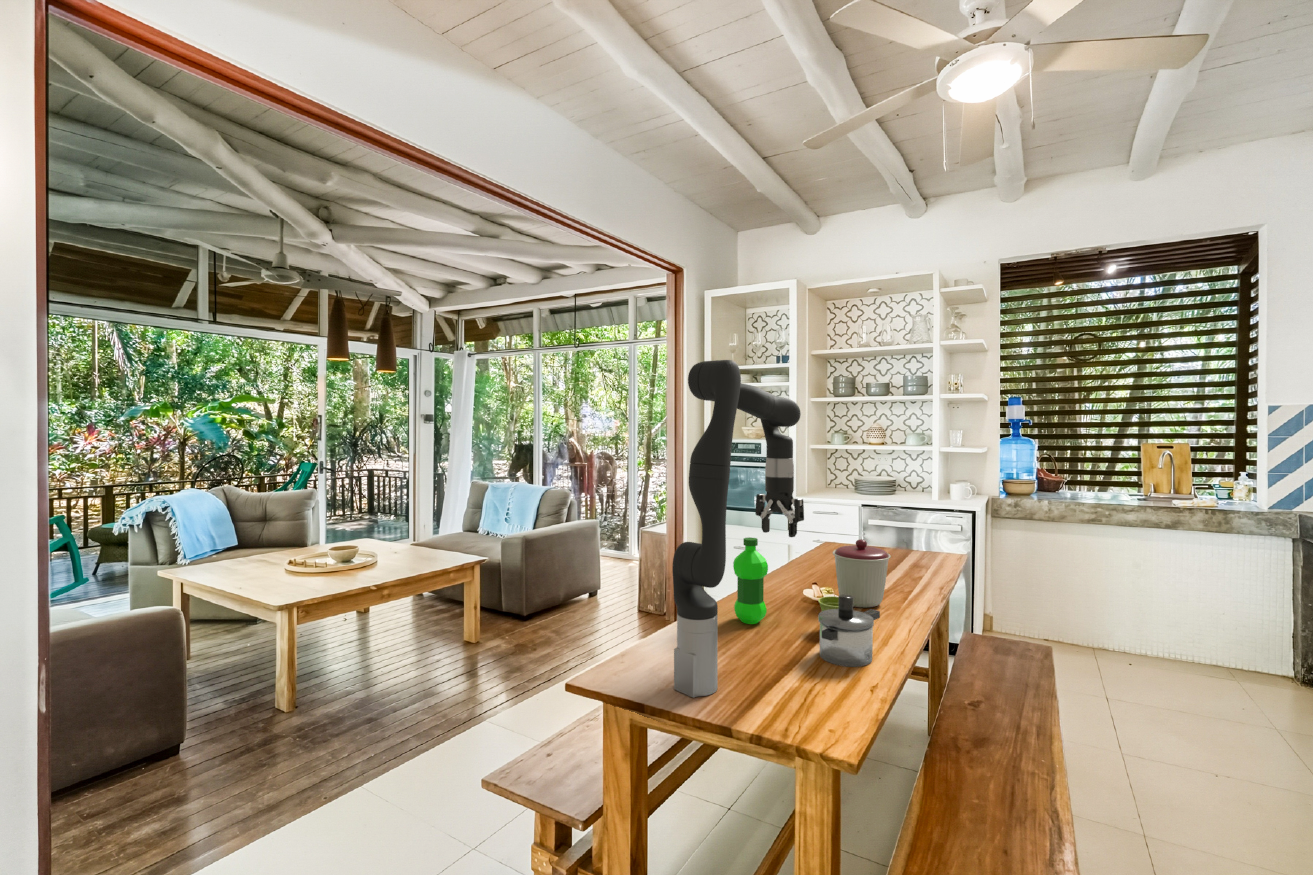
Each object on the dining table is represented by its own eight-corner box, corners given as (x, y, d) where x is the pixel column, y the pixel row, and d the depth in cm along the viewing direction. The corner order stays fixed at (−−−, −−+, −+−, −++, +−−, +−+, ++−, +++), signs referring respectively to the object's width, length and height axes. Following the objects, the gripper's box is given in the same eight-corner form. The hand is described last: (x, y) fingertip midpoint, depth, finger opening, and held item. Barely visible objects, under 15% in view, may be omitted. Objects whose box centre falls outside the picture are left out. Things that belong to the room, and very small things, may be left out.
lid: (856, 635, 152) (857, 608, 152) (808, 621, 162) (808, 596, 161) (883, 621, 161) (883, 596, 161) (835, 609, 171) (836, 586, 171)
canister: (821, 602, 207) (821, 539, 206) (850, 591, 219) (851, 532, 219) (872, 615, 194) (872, 548, 193) (900, 603, 206) (901, 539, 205)
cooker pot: (850, 674, 151) (850, 637, 150) (803, 659, 160) (803, 624, 160) (897, 647, 168) (898, 614, 167) (853, 635, 177) (853, 603, 177)
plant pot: (847, 638, 174) (847, 608, 174) (813, 632, 179) (813, 602, 179) (855, 628, 182) (856, 599, 182) (823, 623, 187) (823, 594, 187)
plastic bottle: (773, 620, 190) (774, 538, 189) (755, 629, 182) (755, 544, 181) (745, 613, 197) (745, 534, 195) (726, 622, 188) (726, 539, 187)
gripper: (749, 473, 172) (749, 532, 173) (793, 477, 161) (792, 540, 162) (766, 471, 177) (766, 529, 178) (810, 475, 167) (809, 536, 167)
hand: (778, 534), depth 170 cm, fingers open, 8 cm apart
